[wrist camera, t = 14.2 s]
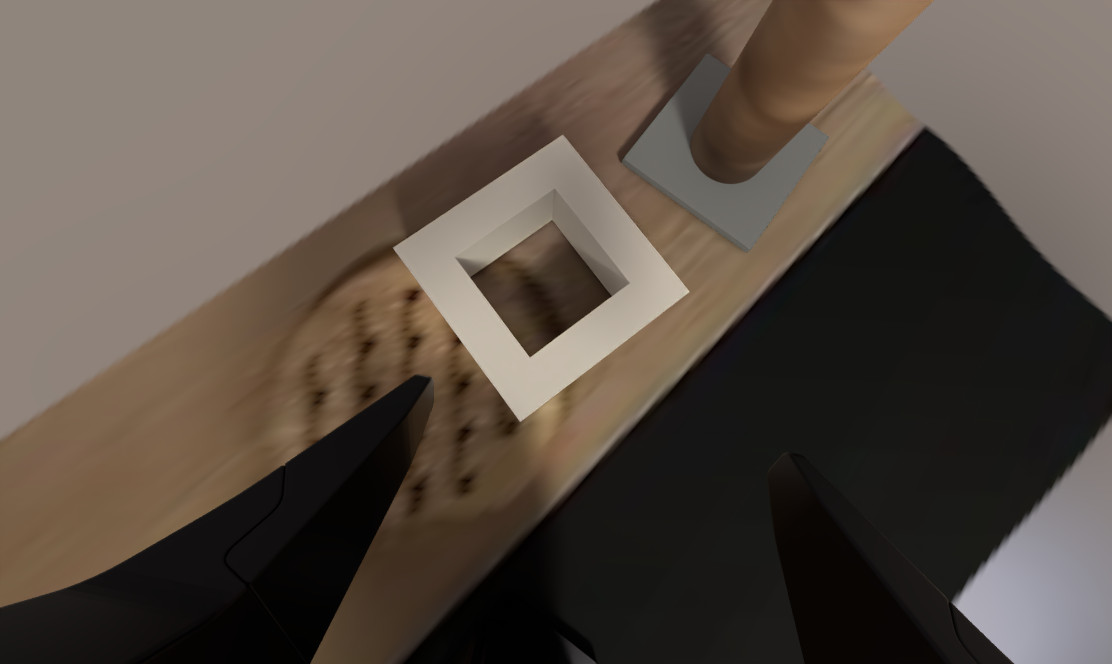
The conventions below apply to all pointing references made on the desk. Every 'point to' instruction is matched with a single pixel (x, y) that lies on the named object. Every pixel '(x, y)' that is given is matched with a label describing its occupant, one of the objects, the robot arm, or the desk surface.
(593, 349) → the frame
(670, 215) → the desk surface
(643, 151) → the pad
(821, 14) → the peg
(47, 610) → the robot arm
